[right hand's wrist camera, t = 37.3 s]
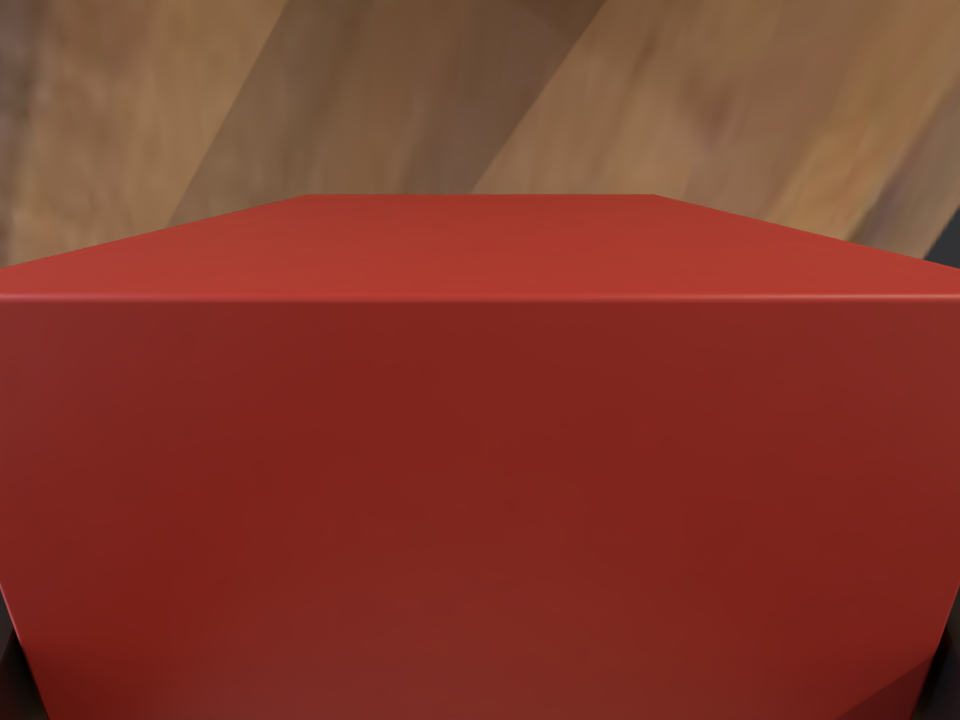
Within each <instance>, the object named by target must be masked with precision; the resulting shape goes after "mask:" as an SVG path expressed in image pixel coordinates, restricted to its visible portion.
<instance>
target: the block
mask: <svg viewBox="0 0 960 720" xmlns="http://www.w3.org/2000/svg"><path fill="white" fill-rule="evenodd" d="M959 586H960V269H958V268H954V267H950V266H945V265H941V264H937V263H933V262H929V261H925V260H921V259H917V258H913V257H908V256H904V255H900V254H896V253H892V252H888V251H884V250H880V249H876V248H871V247H867V246H863V245H859V244H855V243H851V242H847V241H843V240H839V239H835V238H830V237H826V236H822V235H818V234H814V233H810V232H806V231H802V230H798V229H793V228H789V227H785V226H781V225H777V224H773V223H769V222H765V221H761V220H756V219H752V218H748V217H744V216H740V215H736V214H732V213H728V212H724V211H719V210H715V209H711V208H707V207H703V206H699V205H695V204H691V203H687V202H682V201H678V200H674V199H670V198H666V197H662V196H658V195H303V196H299V197H295V198H291V199H287V200H283V201H278V202H274V203H270V204H266V205H262V206H258V207H254V208H249V209H245V210H241V211H237V212H233V213H229V214H225V215H220V216H216V217H212V218H208V219H204V220H200V221H196V222H192V223H187V224H183V225H179V226H175V227H171V228H167V229H163V230H158V231H154V232H150V233H146V234H142V235H138V236H134V237H129V238H125V239H121V240H117V241H113V242H109V243H105V244H101V245H96V246H92V247H88V248H84V249H80V250H76V251H72V252H67V253H63V254H59V255H55V256H51V257H47V258H43V259H38V260H34V261H30V262H26V263H22V264H18V265H14V266H10V267H5V268H1V269H0V590H1V592H2V595H3V598H4V601H5V603H6V606H7V609H8V612H9V615H10V617H11V620H12V623H13V626H14V628H15V631H16V634H17V637H18V639H19V642H20V645H21V648H22V651H23V653H24V656H25V659H26V662H27V664H28V667H29V670H30V673H31V676H32V678H33V681H34V684H35V687H36V689H37V692H38V695H39V698H40V700H41V703H42V706H43V709H44V712H45V714H46V717H47V720H912V717H913V715H914V712H915V709H916V706H917V703H918V701H919V698H920V695H921V692H922V689H923V687H924V684H925V681H926V678H927V676H928V673H929V670H930V667H931V664H932V662H933V659H934V656H935V653H936V650H937V648H938V645H939V642H940V639H941V636H942V634H943V631H944V628H945V625H946V623H947V620H948V617H949V614H950V611H951V609H952V606H953V603H954V600H955V597H956V595H957V592H958V589H959Z"/></svg>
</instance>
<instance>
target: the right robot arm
mask: <svg viewBox="0 0 960 720" xmlns="http://www.w3.org/2000/svg"><path fill="white" fill-rule="evenodd" d="M0 720H47V717H46V714H45V712H44V709H43V706H42V703H41V700H40V698H39V695H38V692H37V689H36V687H35V684H34V681H33V678H32V676H31V673H30V670H29V667H28V664H27V662H26V659H25V656H24V653H23V651H22V648H21V645H20V642H19V639H18V637H17V634H16V631H15V628H14V626H13V623H12V620H11V617H10V615H9V612H8V609H7V606H6V603H5V601H4V598H3V595H2V592H1V590H0ZM912 720H960V586H959V589H958V592H957V595H956V597H955V600H954V603H953V606H952V609H951V611H950V614H949V617H948V620H947V623H946V625H945V628H944V631H943V634H942V636H941V639H940V642H939V645H938V648H937V650H936V653H935V656H934V659H933V662H932V664H931V667H930V670H929V673H928V676H927V678H926V681H925V684H924V687H923V689H922V692H921V695H920V698H919V701H918V703H917V706H916V709H915V712H914V715H913V717H912Z"/></svg>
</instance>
